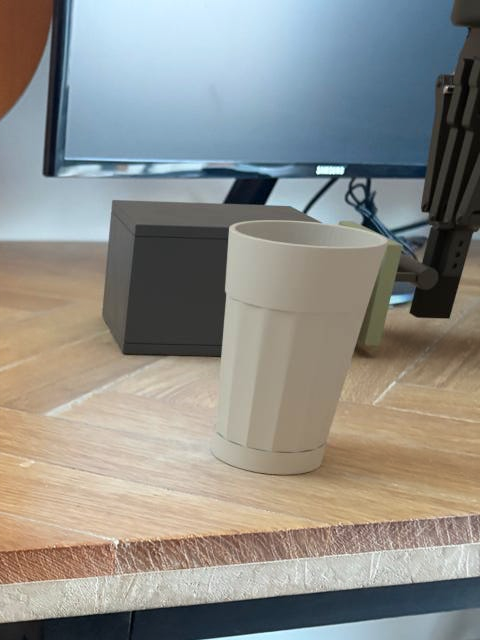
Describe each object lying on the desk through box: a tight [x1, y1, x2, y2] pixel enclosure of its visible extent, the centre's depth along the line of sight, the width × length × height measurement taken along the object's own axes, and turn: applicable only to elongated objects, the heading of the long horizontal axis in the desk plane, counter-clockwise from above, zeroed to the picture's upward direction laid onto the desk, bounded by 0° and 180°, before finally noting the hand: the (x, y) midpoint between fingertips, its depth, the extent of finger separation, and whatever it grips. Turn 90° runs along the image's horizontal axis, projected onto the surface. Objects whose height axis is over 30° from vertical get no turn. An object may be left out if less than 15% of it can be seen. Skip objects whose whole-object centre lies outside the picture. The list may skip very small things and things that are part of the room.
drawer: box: [338, 220, 438, 347], centre depth 78 cm, size 18×10×7 cm, turn 93°
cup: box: [210, 220, 388, 476], centre depth 54 cm, size 8×8×12 cm
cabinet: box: [101, 199, 323, 357], centre depth 77 cm, size 15×12×9 cm
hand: (429, 315), depth 80 cm, fingers closed
